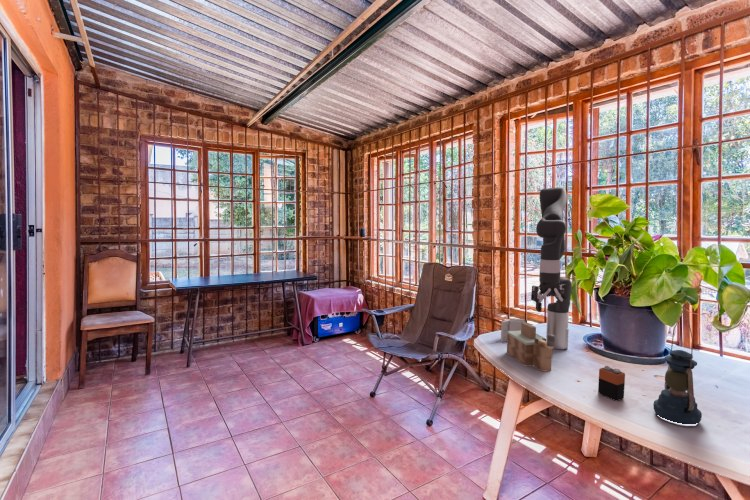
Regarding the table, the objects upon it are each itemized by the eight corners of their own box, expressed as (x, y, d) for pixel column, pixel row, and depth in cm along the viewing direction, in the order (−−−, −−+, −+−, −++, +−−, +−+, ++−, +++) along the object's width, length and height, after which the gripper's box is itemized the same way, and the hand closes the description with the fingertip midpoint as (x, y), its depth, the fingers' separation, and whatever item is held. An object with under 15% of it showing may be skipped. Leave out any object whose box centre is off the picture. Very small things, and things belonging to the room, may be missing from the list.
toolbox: (506, 352, 179) (507, 327, 178) (529, 351, 181) (530, 326, 180) (533, 371, 158) (534, 343, 157) (558, 370, 160) (559, 341, 158)
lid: (507, 335, 179) (507, 320, 178) (529, 334, 180) (530, 319, 180) (526, 347, 163) (526, 330, 162) (550, 345, 165) (551, 329, 164)
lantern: (644, 405, 130) (650, 301, 127) (685, 409, 127) (692, 302, 124) (666, 428, 116) (674, 311, 113) (712, 432, 114) (722, 314, 110)
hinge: (501, 341, 195) (502, 322, 194) (496, 338, 200) (497, 319, 199) (527, 340, 197) (528, 320, 196) (522, 337, 202) (522, 318, 201)
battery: (616, 401, 133) (618, 372, 132) (597, 393, 139) (598, 365, 138) (624, 398, 135) (626, 370, 134) (605, 390, 141) (606, 363, 140)
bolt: (537, 342, 162) (537, 330, 162) (543, 342, 162) (544, 330, 162) (549, 349, 154) (549, 336, 153) (556, 349, 154) (556, 336, 154)
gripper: (560, 268, 160) (558, 307, 162) (528, 270, 158) (527, 309, 159) (572, 271, 153) (571, 312, 155) (538, 272, 150) (537, 314, 152)
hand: (548, 310), depth 157 cm, fingers open, 8 cm apart
